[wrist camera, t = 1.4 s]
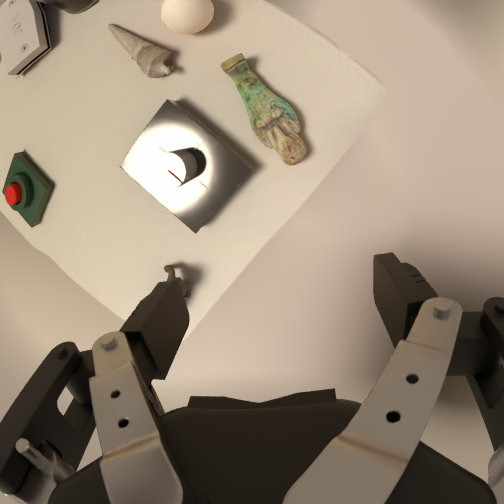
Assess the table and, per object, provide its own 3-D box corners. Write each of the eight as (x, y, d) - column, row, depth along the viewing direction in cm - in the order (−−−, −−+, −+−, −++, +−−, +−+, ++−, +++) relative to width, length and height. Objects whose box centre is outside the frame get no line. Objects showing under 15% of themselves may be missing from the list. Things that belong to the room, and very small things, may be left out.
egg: (196, 48, 31) (176, 31, 23) (164, 27, 29) (139, 9, 22) (229, 15, 28) (216, -9, 21) (195, -4, 27) (176, -28, 20)
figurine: (263, 51, 30) (261, 42, 27) (313, 155, 35) (316, 158, 32) (224, 68, 32) (217, 61, 28) (273, 171, 36) (272, 175, 33)
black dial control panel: (129, 163, 38) (118, 166, 35) (175, 100, 34) (166, 98, 31) (201, 226, 40) (195, 234, 37) (254, 167, 36) (252, 170, 34)
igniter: (9, 189, 41) (-5, 194, 37) (22, 151, 38) (7, 155, 34) (39, 223, 43) (25, 231, 40) (54, 186, 40) (38, 191, 36)
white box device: (45, 42, 27) (3, 79, 27) (58, 46, 31) (17, 79, 31) (27, -19, 18) (-13, 17, 19) (38, -13, 22) (0, 20, 23)
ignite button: (9, 194, 38) (2, 197, 36) (14, 178, 36) (7, 181, 35) (19, 206, 38) (12, 209, 37) (24, 190, 37) (17, 193, 35)
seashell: (170, 86, 33) (152, 86, 29) (105, 39, 31) (86, 38, 27) (188, 61, 31) (170, 58, 27) (119, 17, 29) (100, 13, 25)
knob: (157, 169, 35) (140, 175, 30) (178, 142, 33) (163, 144, 29) (182, 191, 35) (169, 199, 31) (204, 164, 34) (192, 169, 30)
